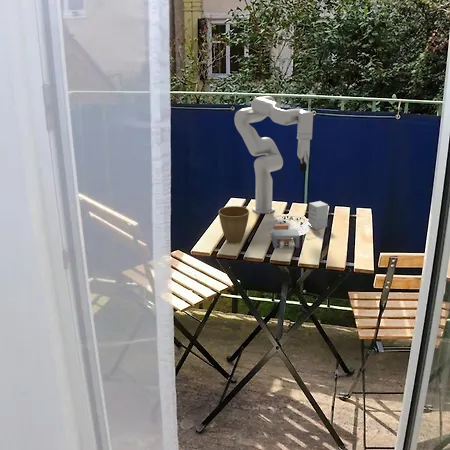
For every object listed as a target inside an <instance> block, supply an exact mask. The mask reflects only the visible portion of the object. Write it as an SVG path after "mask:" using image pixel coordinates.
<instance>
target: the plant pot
mask: <svg viewBox="0 0 450 450" xmlns="http://www.w3.org/2000/svg"><path fill="white" fill-rule="evenodd" d="M249 214H250V209H248V208H246V207H244V206H238V205H232V206H225V207H222V208H220V209H219V210H218V216H219V221H220V222H219V223H220V225H221V226H220V227H221V229H222V233H223V235H224V238H225V240H226V242H227V243H228V244H229V245H230V244H231V245H238V244H241V243H242V241H243V240H244V236H245V234H246V230H247V225H248V222H249V216H250V215H249ZM240 242H241V243H240ZM237 243H238V244H237Z"/></svg>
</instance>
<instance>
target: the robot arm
mask: <svg viewBox="0 0 450 450" xmlns="http://www.w3.org/2000/svg"><path fill="white" fill-rule="evenodd" d="M267 117H269V118H270V119H271V121H272V122H273V123H276V124H279V125H282V126H290V125H296V124H297V131H296V132H297V134H296V135H297V136H296V139H297V140H298V141H297V150H296V151H297V157H298V159H299V160H300V164H299V171H300V172H307V163H308V159H309V158H310V152H311V151H310V150H311V149H310V148H311V140H312V139H313V125H314V124H313V123H314V113H313V112H312V111H311V110H304V109H302V108H291V109H287V110H286V109H281V105H280V103H279V102H277V101H276V99H275V98H274V97H273V96H271V95H266V96H265V95H264V96H258V97H255V98H254V99H253V100H251V102H250V107H244V108H241V109H239V110H237V111H236V112H235V114H234V117H233V119H234V126H235V127H236V130H237V132H238V133H239V134H240V136H241V137H242V140H243V142H244V144H245V146H246V147H247V150H248V152H249V154H250V155H252V156H253V157H257V158H256V159H255V160H254V162H253V168H254V174H255V205H254V206H253V207H252V211H253V212H255V213H256V214H270V213H269V212H271V213H274V212H275V210H276V209H275V207H274V206H273V185H274V184H273V177H272V175H271V172H276V171H278V170H279V171H280V170H281V169H282V167H283V165H284V159H283V157H282V155H281V153H280V151H279V149H278V146H277V145H276V142H274V140H273V139H272V138H271V137H267V136H264V137H261V136H260V135H259V134H258V132H257V130H256V129H255V127H253V126H252V125H251V124H254V123H258V122H262V121H264V119H266V118H267ZM273 211H274V212H273Z"/></svg>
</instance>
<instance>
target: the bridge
mask: <svg viewBox="0 0 450 450" xmlns="http://www.w3.org/2000/svg"><path fill="white" fill-rule="evenodd" d="M270 235H271V236H270ZM269 236H270V240H271V242H272V247H273V248H274V249H277V248H278V244H277V238H293V239H292V240H289V245H288V248H290V247H292V248H293V247H294V246H295V247H294V248H300V232H299V230H298V229H294V228H291V229H288V230H274V228H273V229H269ZM280 247H281V248H282V247H283V248H284V247H285V245H284V241H283V240H281V241H280V245H279V248H280Z"/></svg>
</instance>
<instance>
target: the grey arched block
mask: <svg viewBox="0 0 450 450" xmlns="http://www.w3.org/2000/svg"><path fill="white" fill-rule="evenodd" d="M289 227H290V226H289V224H288V223H284V224H283V223H278V224H273V230H290V229H289ZM281 240H283V241H284V246H289V245H288V244H289V240H292V241H293V239H292V238H277V246H280V241H281ZM286 244H287V245H286Z"/></svg>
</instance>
